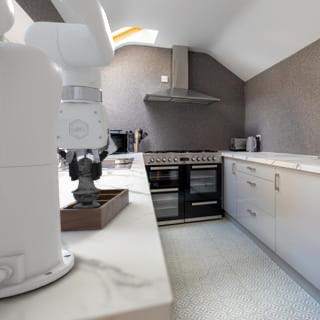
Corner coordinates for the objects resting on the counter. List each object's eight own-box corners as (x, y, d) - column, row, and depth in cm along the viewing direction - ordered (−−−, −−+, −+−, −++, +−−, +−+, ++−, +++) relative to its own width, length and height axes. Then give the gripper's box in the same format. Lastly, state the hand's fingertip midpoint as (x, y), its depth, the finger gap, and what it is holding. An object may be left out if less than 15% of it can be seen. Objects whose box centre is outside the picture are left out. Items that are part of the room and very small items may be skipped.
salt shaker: (107, 203, 62) (105, 153, 61) (90, 209, 56) (88, 154, 56) (84, 202, 63) (82, 152, 62) (65, 208, 57) (62, 154, 56)
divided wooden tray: (101, 228, 56) (100, 208, 56) (56, 231, 55) (55, 210, 54) (128, 202, 81) (128, 188, 80) (98, 203, 79) (98, 189, 79)
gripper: (30, 93, 53) (35, 183, 54) (118, 96, 56) (120, 181, 57) (50, 99, 60) (54, 178, 61) (126, 101, 63) (128, 177, 64)
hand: (86, 179), depth 59 cm, fingers closed on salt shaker, 3 cm apart
